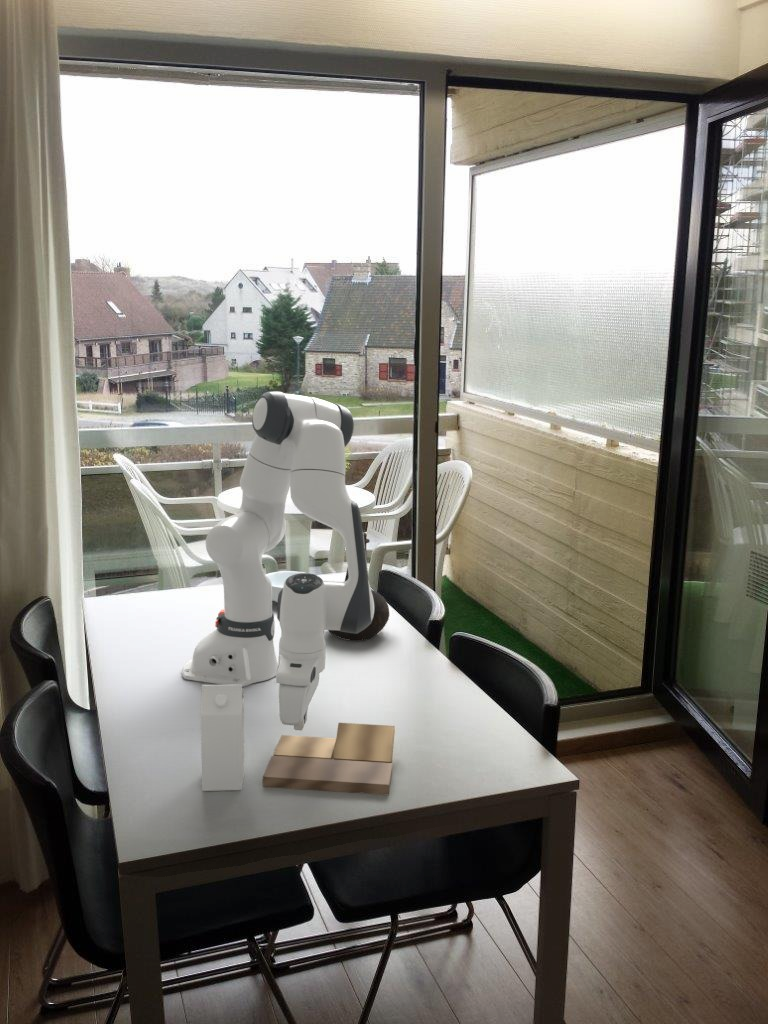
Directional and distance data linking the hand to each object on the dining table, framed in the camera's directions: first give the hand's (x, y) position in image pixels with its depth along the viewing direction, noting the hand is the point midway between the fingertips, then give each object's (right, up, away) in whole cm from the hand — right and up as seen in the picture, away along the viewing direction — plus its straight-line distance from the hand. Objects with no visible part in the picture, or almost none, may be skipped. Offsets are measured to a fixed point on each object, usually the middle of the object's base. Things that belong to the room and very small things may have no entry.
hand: (300, 725), depth 181 cm
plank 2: (+13, -4, -1) cm, 13 cm away
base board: (+6, -8, -8) cm, 13 cm away
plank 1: (+1, -6, 0) cm, 6 cm away
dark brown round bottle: (+9, +9, +66) cm, 67 cm away
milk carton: (-13, -8, -10) cm, 18 cm away
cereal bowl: (-11, +15, +92) cm, 94 cm away
